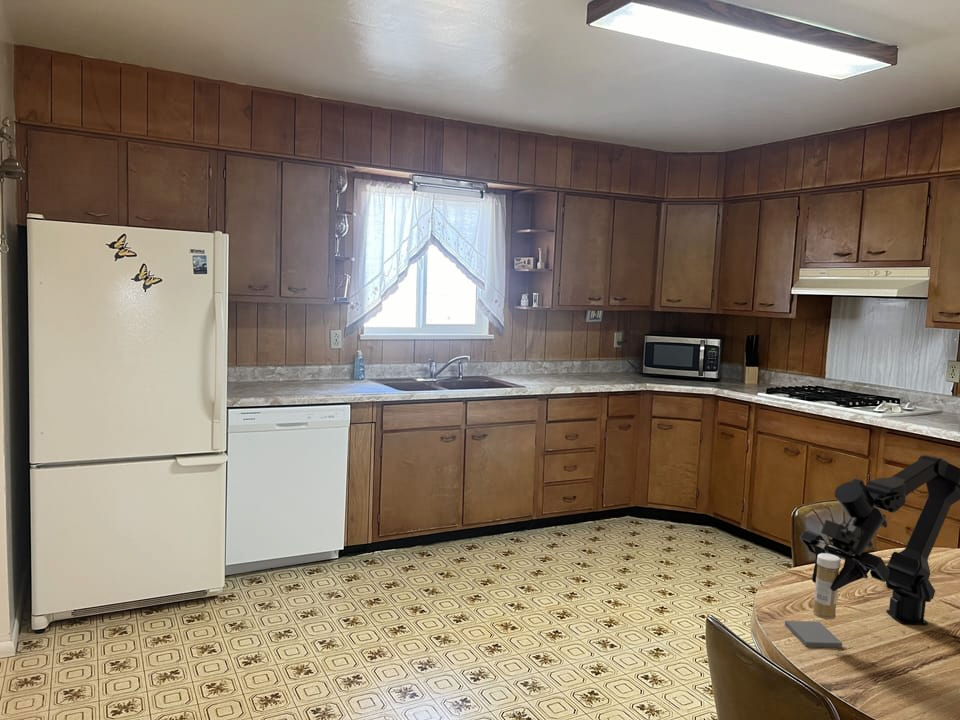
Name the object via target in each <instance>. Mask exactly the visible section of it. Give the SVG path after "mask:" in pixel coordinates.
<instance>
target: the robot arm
mask: <svg viewBox="0 0 960 720" xmlns="http://www.w3.org/2000/svg"><path fill="white" fill-rule="evenodd" d="M923 485H925V486H926V489H927V493H928V495H927V498H926V500H925V502H924V504H923V508H921V509H922V510H921V512H920V514H919V516H918V518H917V521H916V522H915V523H916V524H915V525H914V528H913V529H912V531H911V535H910V537H909V539H908V542H907V544H906V546H905V548H904V549H903V550H902V551H900V552H897V551H894V552H892V553H891V555H890V559H889V560H888V563H887V564H886V563H885V561H884V560H883V559H882V556H881V557H880V556H878V555H874V554H872V553H869V552H868V551H865V550H866V548H870V549H871V548H872V546H873V542H872V539H873V538H874V537H875V535H876V533H877V532H878V530H879V529H880V527H882V528H887V527H888V522H887V519H886V516H887V515H886V514H883V513H882V512H881V511H885V512H888V513H896V512H897V511H899V510H900V509H901V508H902V507H903V506H904V505H905V504H906V503H907V497H908V495H909V494H911V493H912V492H914V491H916V489H918V488H920V487H921V486H923ZM834 497H835V499H836V500H837V501H838V503H839V505H840V507H841V508H842V510H844V512H845V514H846V515H847V516H849V519H848V520H847V522H844V521H843V522H841V523H837V522H835V521H831V520H828V519H825V520H824V523H823V526H822V528H821V531H820V533H821V534H819V533H816V532H813V531H811V530H804V531H803V532H802V533H801V535H800V536H799V539H800V541H801V542H802V544H803V545H804V547H805V548H806V549H807V551H808V552H810V554H814V555H815V561H814V568H813V572H812V576H811V577H812V578H811V581H812V582H813V583H815V584H816V576H817V556H818V554H821V553H827V554H832V555H835V556H838V557H839V558H840V559H841V560H844V563H843V567H842V568H841V570H839V574H838V576H837V577H836V579H835V580H834V582H833V584H832V585H831V590H832V591H835V590H837V591H838V590H839V589H842V588H843V587H845V586H847V585H849V584H851V583H854V582H856V581H858V580H862V579H866V580H867V579H868V578H869V576H868V574H869V573H870V576H871V577H872V579H875V580H877V581H880V582H883V583H885V585H886V588H887V590H892V594H891V596H890V599H889V606H888V607H889V608H888V609H886V613H887V614H889V615H890V616H891V617H892V618H894V619H895V620H896V621H897V622H899V623H901V624H902V625H926V626H927V625H929V622H928V621H927V619H925V612H926V603H927V602H928V603H931V601H932V600H933V599H934V596H935V595H936V590H935V587H934V586H933V585H932V583H931V582H930V575H931V569H930V565H929V560H928V559H929V557H930V554H931V552H932V550H933V548H934V546H935V544H936V541H937V539H938V536H939V534H940V532H941V529H942V527H943V524H944V522H945V520H946V519H947V515H948V513H949V511H950V508H951V506H952V505H953V504H955V503H957V502H958V501H960V467H958V466H955V465H953V464H951V463H949V462H948V461H947V460H944V458H943V457H942V458H941V457H936V456H932V455H927V454H925V455H921V456H919V458H918V459H917V460H916V461H915V462H913V463H911V464H910V465H908V466H906V467H905V468H903V469H902V470H900V471H899V472H897V473H896V474H893V475H891V476H890V477H880V478H879V477H878V478H875V479H873V480H870V481H868V482H867V483H866V484H865V482H864V480H863V479H860V478H859V479H858V478H853V479H852V480H851V481H847V482H844V483H842V484H840V485H839V486H837V487H836V488H835V490H834ZM880 510H881V511H880ZM822 535H826V536H828V538H827V539H828V541H829V542H830V543H832V544H830V543H828V542H826V540H825V538H823V536H822ZM864 551H865V552H864Z"/></svg>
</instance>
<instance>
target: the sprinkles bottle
mask: <svg viewBox="0 0 960 720" xmlns="http://www.w3.org/2000/svg"><path fill="white" fill-rule="evenodd" d="M841 560H842V559H841V558H840V557H838V556H835V555H832V554H827V553H821V554H818V556H817V576H816V583H815V588H814V589H815V590H814V602H813V603H814V604H813V611H812V612H813V615H814V616H815V617H817V618H818V619H819V618H820V619H822V620H829V621H830V620H835V619H836V617H837V615H836V613H837V611H836V609H837V600H838V589H837V590H835V591H832V590H831V585H832V584H833V582H834V580H835V579H836V577H837V576H838V574H839V573H840V568H841Z"/></svg>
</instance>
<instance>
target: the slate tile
mask: <svg viewBox="0 0 960 720" xmlns="http://www.w3.org/2000/svg"><path fill="white" fill-rule="evenodd" d="M784 626H785V627H786V628H787V629H788V630H789V631H790V632H791V633H792V634H793V635H794V637H796V638H797V639H798V641H800V642H801V644H803V646H804V647H805V648H806V647H807V648H809V647H810V648H843V642H842V641H841V640H840V639H839V638H837V637H836V636H835V635H834V634H833V633H832V632H831V631H830V630H829V629H828V628H827V627H826V626H825V625H823V624H822V622H821V621H811V620H810V621H809V620H805V621H804V620H784Z"/></svg>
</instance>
